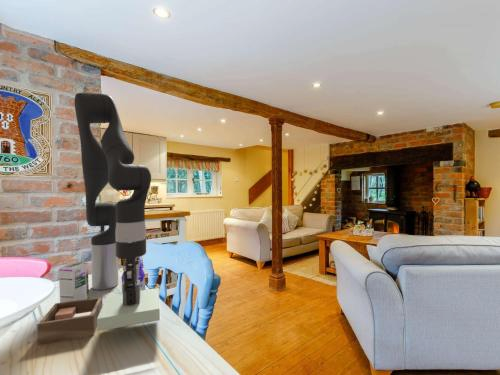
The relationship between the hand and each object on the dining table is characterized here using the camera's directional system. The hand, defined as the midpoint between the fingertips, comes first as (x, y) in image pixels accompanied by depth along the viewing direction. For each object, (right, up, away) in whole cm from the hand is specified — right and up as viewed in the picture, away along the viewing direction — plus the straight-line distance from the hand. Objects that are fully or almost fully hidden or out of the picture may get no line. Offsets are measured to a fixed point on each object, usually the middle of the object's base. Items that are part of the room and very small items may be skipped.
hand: (132, 300), depth 71 cm
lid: (0, -3, 0) cm, 3 cm away
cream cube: (-14, -8, 0) cm, 16 cm away
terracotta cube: (-20, -8, +3) cm, 22 cm away
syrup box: (-25, -9, +14) cm, 30 cm away
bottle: (-7, -9, +17) cm, 20 cm away
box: (-17, -9, +1) cm, 19 cm away
